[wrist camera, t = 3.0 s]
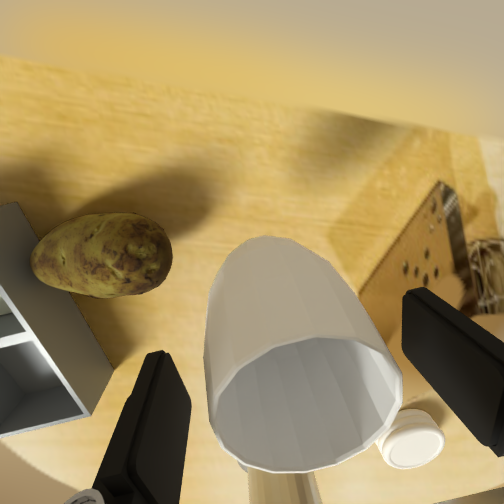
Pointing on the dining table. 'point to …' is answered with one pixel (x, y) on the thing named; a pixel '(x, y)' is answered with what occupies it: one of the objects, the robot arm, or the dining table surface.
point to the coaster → (411, 440)
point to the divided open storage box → (41, 342)
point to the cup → (293, 361)
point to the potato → (104, 255)
